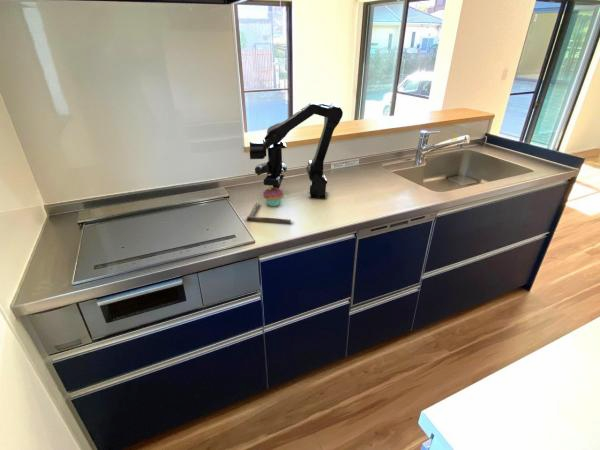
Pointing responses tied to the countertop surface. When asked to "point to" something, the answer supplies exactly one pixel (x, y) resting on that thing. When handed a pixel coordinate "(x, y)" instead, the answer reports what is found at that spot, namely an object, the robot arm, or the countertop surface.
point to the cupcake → (273, 195)
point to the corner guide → (262, 219)
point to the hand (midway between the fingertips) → (276, 192)
